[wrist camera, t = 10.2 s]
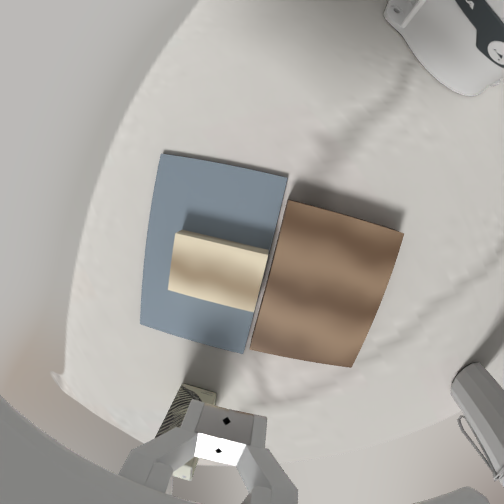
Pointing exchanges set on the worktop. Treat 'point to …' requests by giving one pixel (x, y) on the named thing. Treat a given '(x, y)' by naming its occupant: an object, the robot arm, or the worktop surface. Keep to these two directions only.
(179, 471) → the box
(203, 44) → the worktop surface
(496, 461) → the water bottle
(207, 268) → the tile
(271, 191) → the mat
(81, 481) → the robot arm
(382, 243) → the brown flat wooden slab
